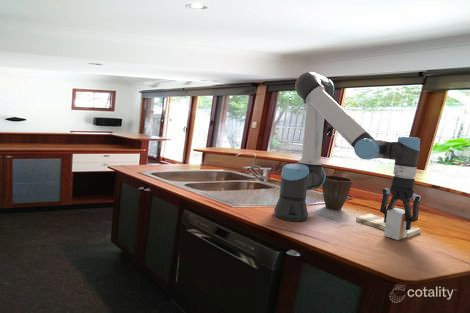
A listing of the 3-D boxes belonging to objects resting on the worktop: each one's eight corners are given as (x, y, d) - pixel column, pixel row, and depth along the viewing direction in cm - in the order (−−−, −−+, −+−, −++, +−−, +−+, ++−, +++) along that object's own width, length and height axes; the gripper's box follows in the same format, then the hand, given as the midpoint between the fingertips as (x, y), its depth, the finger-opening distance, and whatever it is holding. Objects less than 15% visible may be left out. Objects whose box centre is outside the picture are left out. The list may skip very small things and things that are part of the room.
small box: (398, 240, 109) (402, 214, 108) (383, 235, 113) (387, 209, 112) (406, 236, 114) (410, 211, 113) (391, 232, 118) (395, 207, 117)
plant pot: (354, 210, 148) (357, 179, 147) (339, 214, 138) (343, 182, 137) (327, 203, 159) (331, 174, 157) (312, 206, 149) (316, 176, 147)
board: (355, 220, 131) (356, 216, 131) (368, 217, 138) (369, 213, 138) (407, 237, 114) (408, 233, 113) (419, 232, 121) (420, 228, 121)
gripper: (375, 172, 116) (367, 228, 118) (427, 182, 101) (417, 245, 104) (383, 171, 120) (376, 225, 123) (435, 180, 106) (425, 241, 108)
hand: (395, 234), depth 113 cm, fingers closed on small box, 6 cm apart
